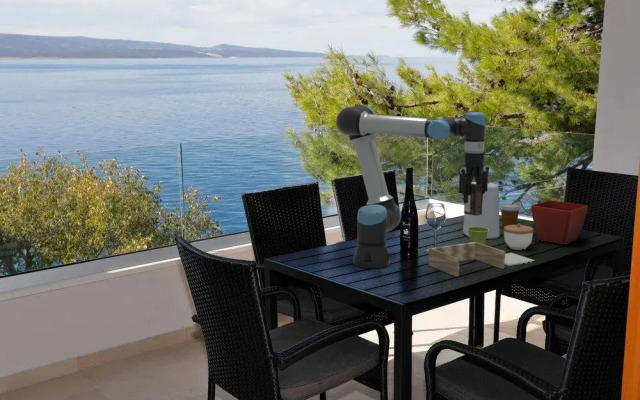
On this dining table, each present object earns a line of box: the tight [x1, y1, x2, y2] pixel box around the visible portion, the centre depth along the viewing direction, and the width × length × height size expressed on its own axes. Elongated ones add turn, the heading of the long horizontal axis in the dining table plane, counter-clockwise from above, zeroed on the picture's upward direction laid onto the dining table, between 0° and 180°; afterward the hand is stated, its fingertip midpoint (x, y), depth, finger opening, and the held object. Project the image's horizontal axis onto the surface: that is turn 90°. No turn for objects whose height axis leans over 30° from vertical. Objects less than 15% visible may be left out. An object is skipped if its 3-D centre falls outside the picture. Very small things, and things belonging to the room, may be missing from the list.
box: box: [463, 183, 482, 216], centre depth 292 cm, size 6×4×12 cm
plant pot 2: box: [531, 199, 589, 243], centre depth 337 cm, size 19×19×17 cm
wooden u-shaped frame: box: [428, 242, 506, 277], centre depth 295 cm, size 24×18×7 cm
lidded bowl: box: [503, 222, 534, 251], centre depth 325 cm, size 13×13×11 cm
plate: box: [505, 252, 536, 267], centre depth 306 cm, size 14×14×1 cm
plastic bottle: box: [462, 176, 501, 240], centre depth 347 cm, size 15×15×28 cm
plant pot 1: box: [467, 227, 489, 245], centre depth 325 cm, size 9×9×9 cm
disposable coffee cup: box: [499, 203, 521, 231], centre depth 361 cm, size 10×10×12 cm
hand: (472, 210), depth 292 cm, fingers closed on box, 5 cm apart
